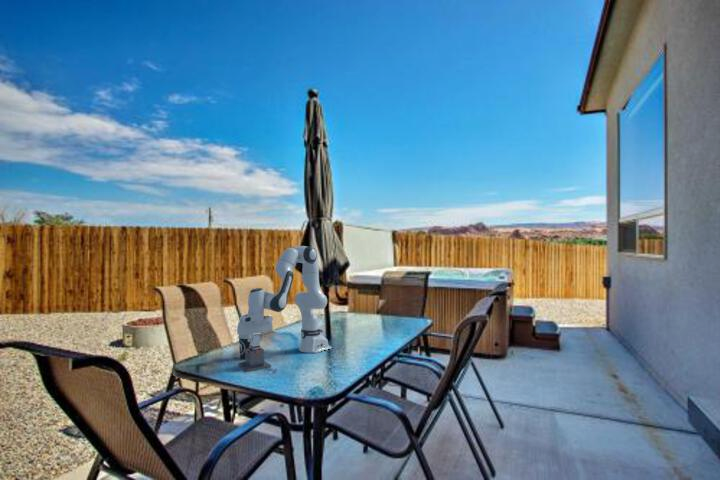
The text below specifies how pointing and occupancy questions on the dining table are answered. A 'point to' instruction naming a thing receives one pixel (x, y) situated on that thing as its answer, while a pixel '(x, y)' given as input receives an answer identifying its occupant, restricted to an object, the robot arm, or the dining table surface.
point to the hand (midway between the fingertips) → (255, 340)
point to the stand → (254, 360)
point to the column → (255, 342)
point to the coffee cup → (243, 345)
